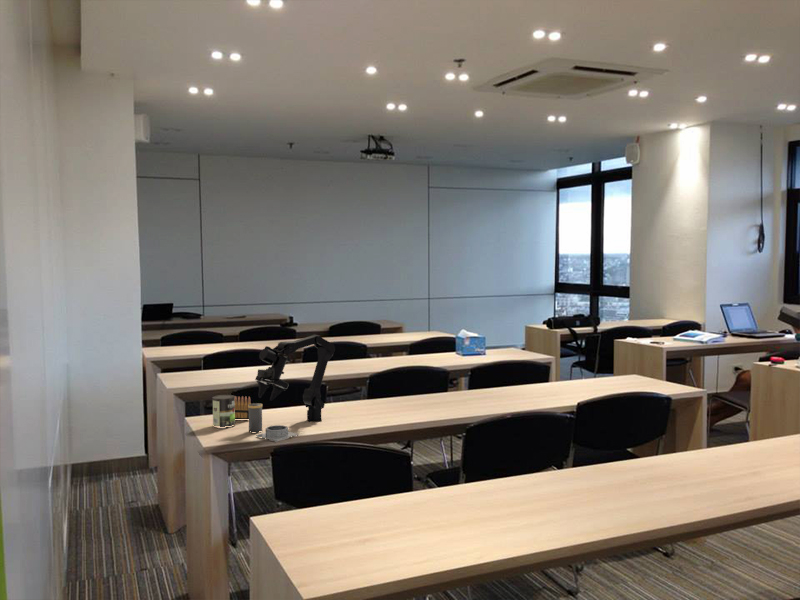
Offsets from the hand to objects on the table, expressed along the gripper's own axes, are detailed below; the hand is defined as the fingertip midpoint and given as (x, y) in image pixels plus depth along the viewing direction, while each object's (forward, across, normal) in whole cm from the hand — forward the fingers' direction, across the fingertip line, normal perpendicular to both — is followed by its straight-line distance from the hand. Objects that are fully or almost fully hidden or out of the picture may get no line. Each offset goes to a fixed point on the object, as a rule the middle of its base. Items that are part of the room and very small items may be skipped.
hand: (264, 399), depth 306 cm
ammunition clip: (+12, -26, +10) cm, 31 cm away
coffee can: (+17, -22, -1) cm, 28 cm away
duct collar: (+14, +12, +5) cm, 19 cm away
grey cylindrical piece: (+15, -2, +3) cm, 15 cm away
